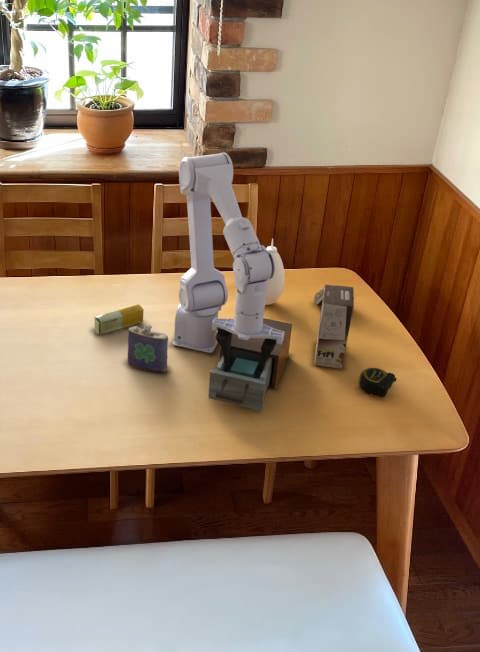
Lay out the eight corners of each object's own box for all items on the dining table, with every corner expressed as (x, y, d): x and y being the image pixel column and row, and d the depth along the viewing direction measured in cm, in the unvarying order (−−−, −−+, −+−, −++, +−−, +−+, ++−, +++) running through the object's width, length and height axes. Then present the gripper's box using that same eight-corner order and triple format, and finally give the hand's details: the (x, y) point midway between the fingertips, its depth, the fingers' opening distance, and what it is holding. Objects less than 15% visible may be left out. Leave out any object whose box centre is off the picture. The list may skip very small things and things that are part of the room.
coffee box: (342, 369, 177) (354, 307, 168) (313, 365, 178) (323, 303, 169) (343, 347, 184) (354, 286, 175) (315, 343, 185) (324, 282, 176)
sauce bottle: (283, 311, 197) (291, 245, 187) (251, 310, 197) (257, 244, 187) (279, 295, 204) (287, 231, 194) (249, 294, 204) (255, 230, 194)
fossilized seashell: (362, 304, 196) (335, 292, 204) (352, 285, 192) (325, 274, 200) (340, 325, 195) (315, 312, 203) (330, 306, 191) (304, 294, 200)
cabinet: (274, 389, 170) (278, 355, 166) (218, 376, 174) (220, 343, 169) (288, 355, 181) (292, 323, 176) (234, 344, 184) (237, 312, 180)
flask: (168, 368, 176) (169, 327, 170) (163, 375, 174) (164, 334, 168) (130, 358, 179) (130, 318, 173) (125, 365, 176) (124, 324, 170)
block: (251, 393, 166) (253, 374, 163) (228, 388, 167) (230, 369, 164) (256, 380, 169) (258, 362, 167) (234, 375, 171) (236, 357, 168)
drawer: (254, 427, 158) (257, 400, 154) (199, 414, 161) (201, 387, 157) (275, 377, 172) (278, 351, 169) (224, 366, 175) (226, 340, 172)
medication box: (98, 336, 186) (98, 322, 184) (93, 329, 188) (93, 316, 185) (143, 322, 191) (144, 309, 189) (138, 316, 193) (139, 302, 190)
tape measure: (383, 403, 167) (386, 388, 165) (352, 391, 170) (355, 377, 168) (394, 387, 172) (398, 373, 170) (364, 376, 175) (367, 362, 173)
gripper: (208, 310, 157) (205, 367, 164) (281, 325, 153) (274, 382, 160) (218, 294, 162) (215, 349, 170) (289, 307, 158) (282, 363, 166)
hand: (244, 364), depth 165 cm, fingers open, 7 cm apart
